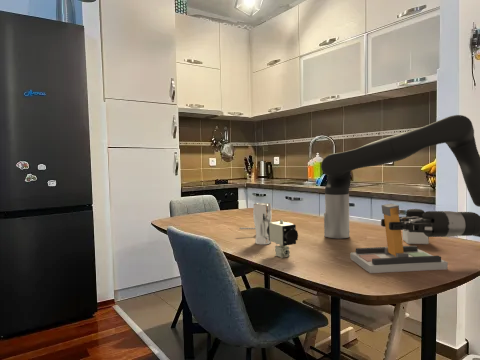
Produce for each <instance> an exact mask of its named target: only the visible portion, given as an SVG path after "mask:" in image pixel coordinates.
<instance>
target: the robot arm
mask: <svg viewBox="0 0 480 360" xmlns="http://www.w3.org/2000/svg"><path fill="white" fill-rule="evenodd" d="M475 138H476V137H475V129H474V126H473V123H472V121H471V119H470V118H469V117H467V116H466V115H462V114H455V115H449V116H447V117H445V118H442V119H439V120H437V121H434V122H432V123H430V124H427V125H424V126H422V127H418V128H415V129H412V130H407V131H405V132H402V133H397V134H394V135H391V136H388V137H384V138H380V139H378V140H376V141H372V142H370V143H367V144H365V145H363V146H360V147H357V148H355V149H350V150H346V151H343V152H337V153H330V154H328V155H326V156H325V157H324V158H323V160H322V161H321V163H320V164H321V165H320V168H321V171H322V172H323V173H324V174H325V175H326V176H327V184H326V185H325V187H324V199H325V201H324V208H325V209H324V211H325V212H324V214H323V222H324V223H323V227H324V228H323V230H324V231H323V235H324V238H330V239H339V240H340V239H347V238H350V194H349V193H350V187H351V177H352V176H351V175H352V174H351V173H352V172H351V171H354V170H357V169H362V168H368V167H370V168H371V167H377V166H381V165H386V164H388V165H389V164H392V163H395V162H399V161H402V160H404V159H408V158H410V157H412V156H413V155H414V154H415V155H416V153H418V152H420V151H421V150H424V149H425V148H429V147H432V146H437V145H441V144H446V145H447V146H448V148H449V149H450V151H451V152H452V153H453V156H454V157H455V159H456V161H457V163H458V165H459V167H460V170H461V173H462V177H463V180H464V181H463V182H464V183H465V186H466V189H467V191H468V193H469V196H470V198H471V201H472V203H473V204H474V205H475V207H480V154H479V151H478V148H477V144H476V139H475ZM424 212H425V213H423V215H422V217H421V218H419V217H415V216H413V217H408V216H406V215H405V216H399V220H400V222H389V229H390V230H401V231H403V230H404V231H408V232H421V233H424V234H425V235H426V236H428V237H429V238H451V237H461V236H462V237H470V236H472V237H478V238H480V215H479V214H478V213H476V212H472V211H452V210H451V211H450V210H434V211H433V210H431V211H430V210H429V211H424ZM380 225H381V227H383V228H385V221H384V218H382V219H381V220H380Z"/></svg>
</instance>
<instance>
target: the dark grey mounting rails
mask: <svg viewBox="0 0 480 360" xmlns="http://www.w3.org/2000/svg"><path fill="white" fill-rule="evenodd" d="M385 247H386V246H382V247H381V246H379V247H378V246H377V247H356V248H355V252H356V253H357V254H367V253H385ZM418 249H419V247H418V246H417V245H403V251H404V252H410V251H418ZM441 259H442V256H440V255H433V256H418V257H397V258H376V259H372V264H373V265H388V264H408V263H429V262H441Z"/></svg>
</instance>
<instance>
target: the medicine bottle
mask: <svg viewBox="0 0 480 360" xmlns="http://www.w3.org/2000/svg"><path fill="white" fill-rule="evenodd" d="M425 212H426V211H425V210H423V209H421V208H419V209H418V208H409V209H406V211H405V216H408V217H413V216H415V217H419V218H421V217H422V215H423V213H425ZM429 240H430V237H428V236H426V235H425V234H424V233H421V232H408V231H404V230H402V241H404V242H405V243H406V244H407V245H429V244H430V241H429Z"/></svg>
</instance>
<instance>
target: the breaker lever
mask: <svg viewBox="0 0 480 360" xmlns="http://www.w3.org/2000/svg"><path fill="white" fill-rule="evenodd" d="M381 212H382V214H383V219H384V221H385V227H384V228H385V236H386V243H387V247H388V252H389V253H391V254H392V255H394V256H396V253H404V251H403V246H404V245H403V235H402V230H390V229H389V222H400V220H399V217H400V214H401V213H400V212H401V211H400V205H398V204H394V203H385V204H381Z"/></svg>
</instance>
